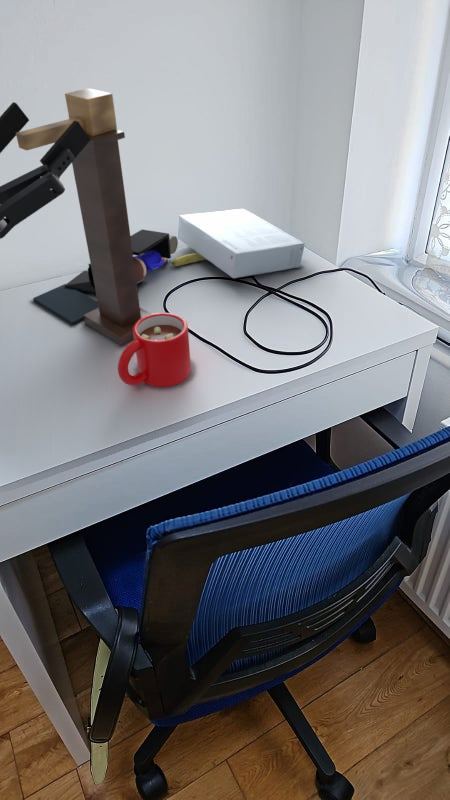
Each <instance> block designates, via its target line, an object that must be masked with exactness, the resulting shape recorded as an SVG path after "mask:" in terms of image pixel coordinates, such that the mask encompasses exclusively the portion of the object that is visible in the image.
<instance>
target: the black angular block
mask: <svg viewBox="0 0 450 800" xmlns="http://www.w3.org/2000/svg"><path fill="white" fill-rule="evenodd" d="M65 284H66V285H65V287H67V288H71V289H76V290H77V291H80V292H86V293H91V294H95V295H96V290H95V285H94V279H93V274H92V269H91V263H90V262H89V263H88V267H87V270H83V271H82V272H80V273H79V274H78V275H76V276H75V277H73V279H71V280H70V281H68V282H67V283H65ZM142 284H143V281H141V282H139V283H137V289H138V288H139V287H140V286H142Z"/></svg>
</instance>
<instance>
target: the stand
mask: <svg viewBox="0 0 450 800" xmlns="http://www.w3.org/2000/svg"><path fill="white" fill-rule="evenodd" d="M87 135H88V134H87ZM88 137H89V138H90V139H91V140H90V141H89V142H88V144H87V145H86V146H85V147H84V148H83V149H82V151H81V152H80V153H79V154H78V155H77V157H76V158H75V159H74V161H73V162H72V163H71V165H72V170H73V176H74V182H75V187H76V191H77V198H78V203H79V204H78V205H79V208H80V215H81V220H82V224H83V231H84V236H85V240H86V246H87V251H88V257H89V263H91V269H92V274H93V279H94V285H95V290H96V294H95V296H96V301H97V302H98V306H99V308H97V309H95V310H93V311H91V312H89V313H87V314H85V315H83V317H84V320H83V321H84V324H86V325H87V326H89V327H90V328H92V329H93V330H96V331H97V332H99V333H101V334H102V335H104V336H105V337H107V338H108V339H110V340H112V341H114V342H115V343H117V344H119V345H120V346H124V345H125V344H127V343H129V342H132V341H134V337H133V326H134V325H135V323H136V322H137V321H138V320H139V319H141V318H143V317H145V316H147V315H150V314H152V313H151V312H149V311H148V310H145V309H144V308H141V306H140V299H139V298H140V297H139V290H138V288H137V282H136V275H135V267H134V259H133V257H134V255H133V252H132V244H131V237H130V236H131V229H130V223H129V215H128V207H127V199H126V193H125V185H124V184H125V183H124V177H123V169H122V161H121V154H120V146H119V140H123V139H125V138H126V135H125V132H124V131H123V130H118V129H117V130H113V131H110V132H106V133H103V134H99V135H96V136H91V135H88Z"/></svg>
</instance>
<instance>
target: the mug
mask: <svg viewBox="0 0 450 800" xmlns="http://www.w3.org/2000/svg"><path fill="white" fill-rule="evenodd" d="M133 337H134V339H133V340H132V341H130V343H129V344H128V345H127V346H126V347H125V348H124V349H123V351H122V352H121V354H120V356H119V358H118V364H117V374H118V377H119V379H120V380H121V381H122V382H123V383H124V384H126V385H128V386H138V385H140V384H143V383H145V384H147V385H149V386H152V387H157V388H168V387H169V388H170V387H173V386H176V385H179V384H181V383H183V382H184V381H185V380H187V379H188V378H189V376H190V375H191V371H192V364H191V351H190V350H191V349H190V337H189V326H188V322H187V321H186V320H185V318H184V317H182V316H180V315H178V314H175V313H171V312H155V313H151V314H150V315H147V316H145V317H143V318H141V319H139V320H138V321H137V322H136V323H135V325H134V326H133ZM134 355H135V356H136V363H137V370H138V373H137V374H134V375H133V374H130V372H129V364H130V362H131V359H132V357H133V356H134Z"/></svg>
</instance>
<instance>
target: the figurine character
mask: <svg viewBox="0 0 450 800" xmlns="http://www.w3.org/2000/svg"><path fill="white" fill-rule="evenodd" d="M130 237H131V244H132V252H133V259H134V267H135V275H136V282H137V283H139V282H143V280H144V279H145V277H146V275H147V273H148V272H149V271H150V272H151V271H153V270H154V269H157V268H161V267H162V266H163V265H165V264H167V263H168V262H169V259H171V258H172V255H173V254H175V253H176V252H177V249H178V244H179V241H178V240H179V239H178V236H175V235H170V233H167V232H162V231H155V230H148V229H140V230H139V231H137V232H134V233H133V234H132V235H131V234H130Z"/></svg>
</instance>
